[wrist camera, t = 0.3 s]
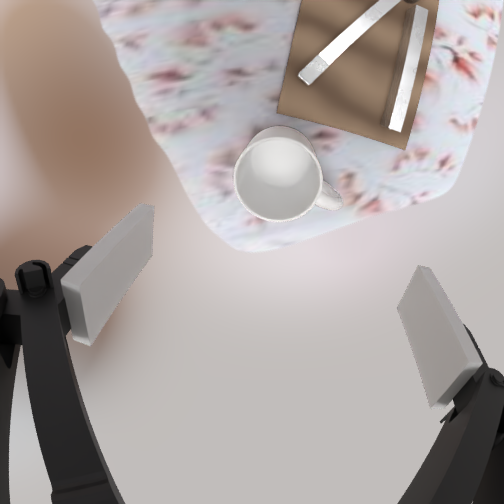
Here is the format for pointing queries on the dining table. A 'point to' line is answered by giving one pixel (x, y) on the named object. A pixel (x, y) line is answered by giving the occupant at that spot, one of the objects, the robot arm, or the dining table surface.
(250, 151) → the mug
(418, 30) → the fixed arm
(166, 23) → the dining table surface
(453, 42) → the dining table surface
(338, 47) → the light grey long bar
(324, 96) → the board
